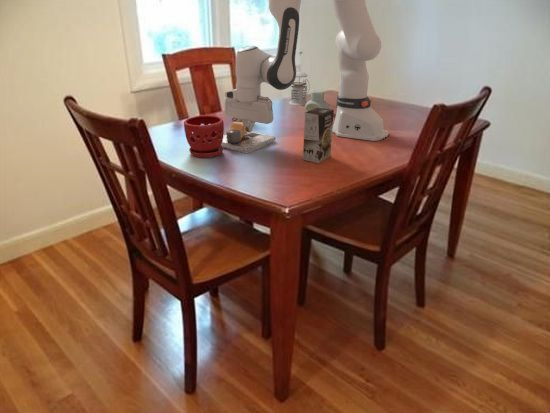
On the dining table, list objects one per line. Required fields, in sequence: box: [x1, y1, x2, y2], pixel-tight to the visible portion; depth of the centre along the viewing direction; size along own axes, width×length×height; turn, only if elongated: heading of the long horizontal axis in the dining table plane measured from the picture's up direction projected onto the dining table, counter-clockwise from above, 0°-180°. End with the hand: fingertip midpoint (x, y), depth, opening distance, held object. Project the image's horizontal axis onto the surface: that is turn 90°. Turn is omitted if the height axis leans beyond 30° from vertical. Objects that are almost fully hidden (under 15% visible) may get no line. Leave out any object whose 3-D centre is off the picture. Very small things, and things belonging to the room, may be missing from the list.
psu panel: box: [221, 131, 276, 154], centre depth 165 cm, size 16×17×2 cm
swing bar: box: [225, 121, 246, 143], centre depth 165 cm, size 5×16×3 cm, turn 175°
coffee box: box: [302, 108, 335, 164], centre depth 149 cm, size 9×6×16 cm
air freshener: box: [304, 89, 330, 112], centre depth 207 cm, size 11×8×10 cm
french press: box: [288, 50, 311, 106], centre depth 221 cm, size 10×12×25 cm
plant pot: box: [183, 114, 225, 159], centre depth 152 cm, size 13×13×12 cm
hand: (248, 131), depth 168 cm, fingers closed
